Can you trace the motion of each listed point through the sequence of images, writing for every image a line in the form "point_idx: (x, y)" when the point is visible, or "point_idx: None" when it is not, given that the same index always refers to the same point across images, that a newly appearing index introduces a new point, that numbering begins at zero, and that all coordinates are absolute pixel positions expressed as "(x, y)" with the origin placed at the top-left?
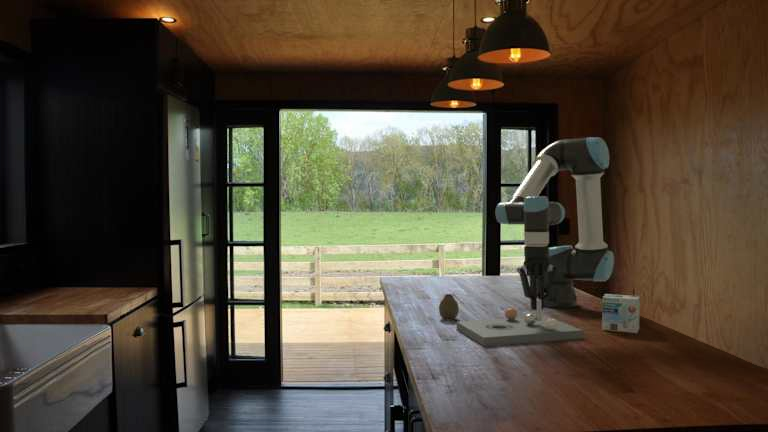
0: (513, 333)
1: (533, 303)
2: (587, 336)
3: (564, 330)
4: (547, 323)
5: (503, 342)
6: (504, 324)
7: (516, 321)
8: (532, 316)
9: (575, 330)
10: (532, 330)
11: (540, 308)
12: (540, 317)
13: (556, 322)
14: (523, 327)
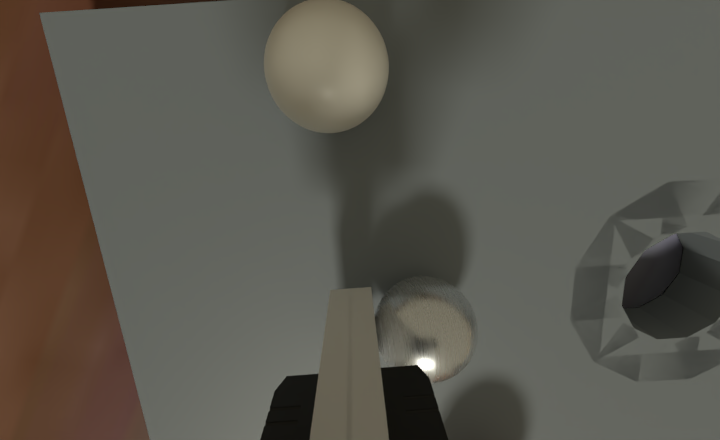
0: (710, 40)
1: (437, 431)
2: (37, 92)
3: (215, 44)
4: (382, 42)
5: None
6: (595, 357)
7: (460, 425)
8: (426, 310)
9: (113, 19)
10: (493, 113)
11: (334, 360)
12: (339, 303)
13: (279, 21)
14: (510, 234)
